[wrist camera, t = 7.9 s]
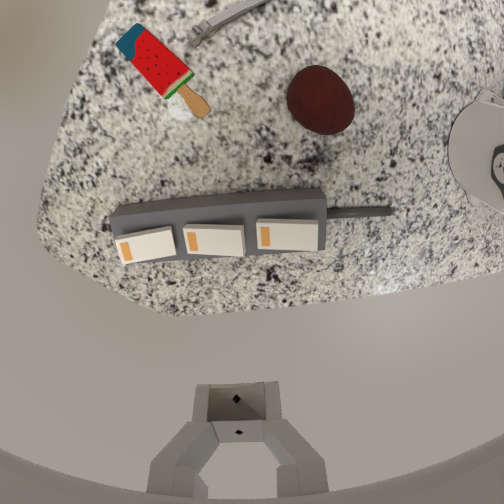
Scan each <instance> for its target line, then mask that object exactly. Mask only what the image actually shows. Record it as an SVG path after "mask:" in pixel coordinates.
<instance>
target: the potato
mask: <svg viewBox="0 0 504 504" xmlns="http://www.w3.org/2000/svg"><path fill="white" fill-rule="evenodd" d="M287 105H288V109H289V111H290V112H291V114H292V116H293V117H294V118H295V119H296V120H297V121H298V122H299V123H300V124H301V125H302V126H304V127H305V128H306V129H309V130H311V131H314V132H317V133H319V134H322V135H334V134H336V133H339V132H341V131H344V130H345V129H346V128H347V127H348V126H349V125H350V124H351V122H352V120H353V118H354V113H355V106H354V100H353V97H352V94H351V92H350V90H349V88H348V87H347V85H346V84H345V82H344V81H343V80H342V79H341V78H340V77H339V76H338V75H337V74H336V73H335V72H334V71H332V70H330V69H328V68H327V67H323V66H319V65H314V66H308V67H306V68H304V69H303V70H301V71H300V72H298V73H297V74H296V76H295V77H294V78H293V80H292V81H291V83H290V84H289V88H288V93H287Z"/></svg>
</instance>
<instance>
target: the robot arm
mask: <svg viewBox="0 0 504 504" xmlns="http://www.w3.org/2000/svg"><path fill="white" fill-rule="evenodd" d="M491 99H492V101H491ZM448 154H449V162H450V167H451V170H452V173H453V175H454V177H455V179H456V180H457V182H458V183H459V184H460V185H461V186H462V187H463V188H464V190H465V191H466V194H467V198H468V200H469V203H470V204H471V205H473V206H475V207H477V206H481V205H485V204H486V205H487V206H489V207H491V208H492V209H494V210H496V211H497V212H499V213H501V214H504V99H503V98H501V97H499V96H498V95H496V94H494V93H493V92H491V91H489V90H486V89H482V90H481V91H480V92H479V94H478V96H477V98H476V99H475V101H474V102H473V103H472V104H471V105H469V106H468V107H466V108H465V109H464V110H463V111H462V112H461V113H460V114H459V115H458V117H457V119H456V120H455V122H454V125H453V127H452V130H451V133H450V138H449V147H448ZM264 387H265V388H264ZM263 441H264V443H265V444H266V446H267V447H268V448H269V450H270V451H271V452H272V454H273V455H274V456H275V458H276V459H277V460H278V461H279V463H280V464H281V465H280V466H279V467H278V468H277V498H267V499H208V487H207V485H206V484H205V483H204V481H203V480H202V479H201V477H200V476H199V475H198V474H199V472H200V471H201V469H202V468H203V467H204V465H205V464H206V463H207V461H208V460H209V458H210V457H211V456H212V454H213V453H214V451H215V450H216V448H217V447H218V446H219V443H224V442H225V443H228V442H263ZM0 504H504V434H502V435H500V436H498V437H497V438H494V439H492V440H490V441H488V442H486V443H484V444H482V445H480V446H478V447H476V448H473V449H471V450H469V451H467V452H464V453H462V454H460V455H457V456H455V457H453V458H450V459H448V460H445V461H442V462H440V463H437V464H434V465H432V466H429V467H426V468H423V469H420V470H417V471H414V472H411V473H408V474H405V475H401V476H398V477H395V478H391V479H387V480H383V481H379V482H375V483H372V484H367V485H363V486H358V487H353V488H349V489H343V490H337V491H332V492H329V488H328V481H327V475H326V468H325V462H324V459H323V458H322V457H321V456H320V455H319V454H318V453H317V452H316V451H315V450H314V449H313V448H312V447H311V445H310V444H309V443H308V442H307V441H306V440H305V439H304V438H303V437H302V436H301V435H300V434H299V433H298V432H297V430H296V429H295V428H294V427H293V426H292V425H291V424H290V423H289V422H288V420H287V419H282V413H281V402H280V392H279V383H278V381H274V382H257V383H241V384H198V385H197V386H196V390H195V398H194V407H193V415H192V421H190V422H187V423H186V424H185V425H184V427H183V428H182V429H181V430H180V431H179V432H178V433H177V434H176V435H175V436H174V438H173V439H172V440H171V441H170V442H169V443H168V444H167V445H166V446H165V447H164V449H163V450H162V451H161V452H160V453H159V454H158V455H157V456H156V457H155V458H154V459H153V460H152V461H151V465H150V471H149V478H148V485H147V491H146V493H145V492H139V491H134V490H128V489H122V488H118V487H113V486H109V485H104V484H100V483H96V482H92V481H88V480H85V479H81V478H77V477H74V476H71V475H67V474H64V473H61V472H58V471H55V470H52V469H49V468H46V467H43V466H41V465H38V464H35V463H33V462H30V461H28V460H25V459H23V458H20V457H18V456H16V455H13V454H11V453H9V452H7V451H4V450H2V449H0Z"/></svg>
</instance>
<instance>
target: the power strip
mask: <svg viewBox="0 0 504 504" xmlns="http://www.w3.org/2000/svg"><path fill="white" fill-rule="evenodd" d="M392 214H393V209H392V208H390V207H382V208H356V209H334V210H327V198H326V196H325V195H324V193H323V192H322V190H321V189H320V188H301V189H283V190H267V191H252V192H239V193H227V194H215V195H205V196H194V197H185V198H175V199H166V200H157V201H149V202H141V203H133V204H126V205H119V206H118V207H117V208H116V210H115V211H114V212H113V213H112V214H111V215H110V216H109V221H110V225H111V228H112V232H113V235H114V239H116V236H120V235H125V234H130V233H135V232H140V231H145V230H150V229H156V228H161V227H166V226H171V228H172V233H173V237H174V242H175V247H176V255H173V256H167V257H162V258H156V259H151V260H145V261H140V262H134V263H147V262H161V261H176V260H190V259H205V258H219V257H234V256H221V255H204V254H188V253H187V248H186V243H185V238H184V232H183V228H184V226H185V225H186V224H214V225H244V236H245V246H246V253H245V255H244V256H248V255H262V254H276V253H290V252H304V251H300V250H273V249H258V244H257V230H256V222H257V219H301V220H318V248H317V251H318V250H325V242H326V219H335V218H355V217H376V216H391V215H392ZM129 264H132V263H129Z"/></svg>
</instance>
